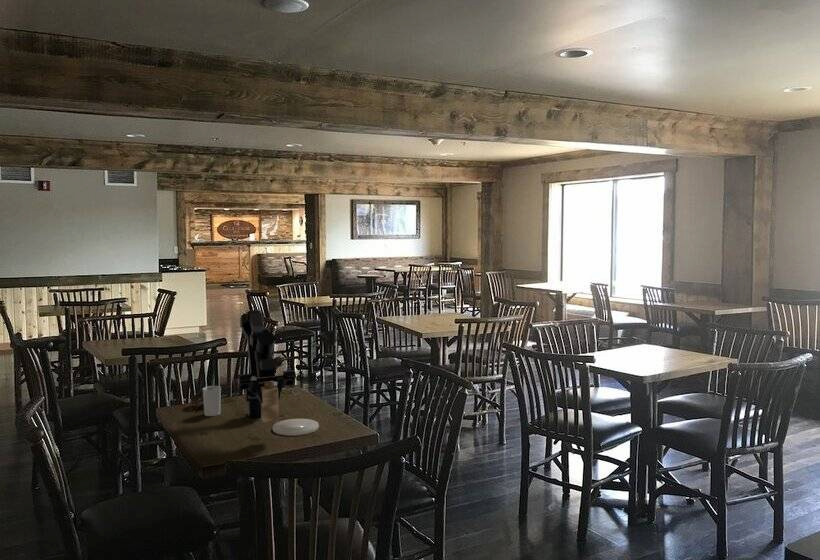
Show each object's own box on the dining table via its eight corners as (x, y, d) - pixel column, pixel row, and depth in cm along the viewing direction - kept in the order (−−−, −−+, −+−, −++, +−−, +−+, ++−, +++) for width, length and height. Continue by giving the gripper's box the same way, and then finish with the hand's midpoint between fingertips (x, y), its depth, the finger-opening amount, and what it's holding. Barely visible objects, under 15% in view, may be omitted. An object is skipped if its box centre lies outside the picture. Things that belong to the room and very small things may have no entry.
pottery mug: (209, 411, 248) (198, 394, 247) (194, 419, 253) (183, 401, 252) (229, 396, 258) (218, 379, 258) (214, 404, 263) (203, 387, 262)
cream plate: (278, 438, 215) (278, 434, 215) (268, 425, 229) (268, 421, 229) (324, 431, 222) (324, 428, 222) (311, 419, 236) (311, 416, 236)
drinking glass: (223, 411, 247) (223, 385, 246) (219, 416, 240) (218, 390, 239) (206, 411, 247) (205, 386, 246) (201, 416, 240) (200, 390, 239)
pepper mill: (263, 423, 209) (262, 384, 208) (261, 419, 214) (260, 380, 213) (278, 421, 211) (278, 382, 210) (276, 417, 215) (275, 379, 214)
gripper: (238, 350, 211) (242, 391, 201) (294, 346, 217) (301, 386, 208) (236, 369, 219) (240, 409, 209) (290, 365, 225) (297, 403, 216)
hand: (270, 402), depth 210 cm, fingers closed on pepper mill, 5 cm apart
